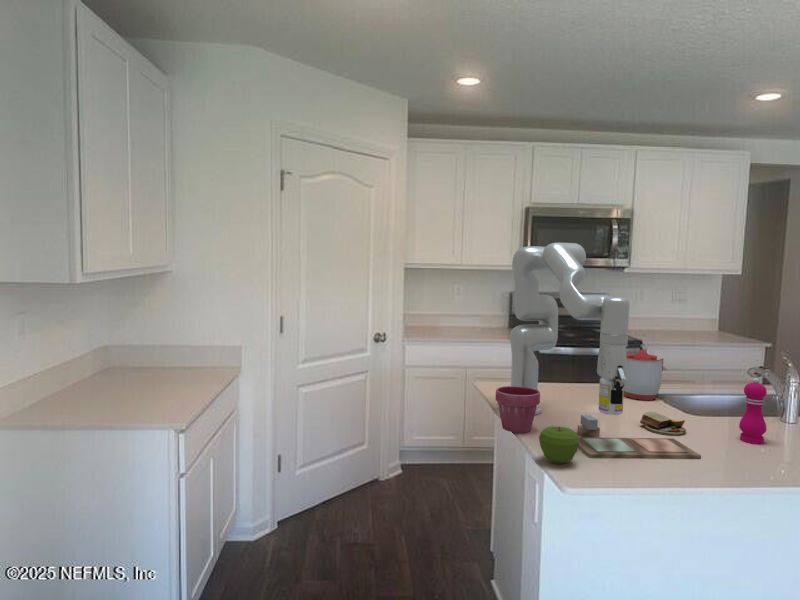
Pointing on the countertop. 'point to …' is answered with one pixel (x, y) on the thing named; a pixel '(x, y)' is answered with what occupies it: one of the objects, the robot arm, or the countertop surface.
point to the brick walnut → (587, 432)
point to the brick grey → (589, 422)
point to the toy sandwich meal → (662, 424)
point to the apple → (558, 444)
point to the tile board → (636, 448)
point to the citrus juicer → (643, 375)
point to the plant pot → (517, 407)
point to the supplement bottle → (608, 398)
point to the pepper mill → (753, 413)
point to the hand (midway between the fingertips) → (610, 400)
